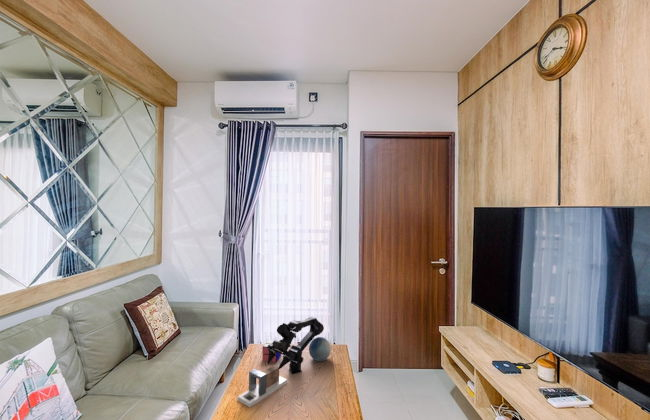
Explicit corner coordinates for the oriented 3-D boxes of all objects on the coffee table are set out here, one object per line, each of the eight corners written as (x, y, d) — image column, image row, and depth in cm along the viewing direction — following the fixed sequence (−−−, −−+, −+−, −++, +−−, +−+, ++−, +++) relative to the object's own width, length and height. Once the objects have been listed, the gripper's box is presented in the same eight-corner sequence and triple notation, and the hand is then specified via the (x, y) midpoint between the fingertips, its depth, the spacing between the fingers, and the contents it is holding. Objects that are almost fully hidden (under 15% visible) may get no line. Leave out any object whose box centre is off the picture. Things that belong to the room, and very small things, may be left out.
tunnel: (254, 386, 179) (254, 368, 179) (266, 392, 173) (266, 374, 173) (248, 390, 176) (249, 371, 175) (260, 396, 170) (260, 377, 170)
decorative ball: (317, 352, 224) (317, 331, 224) (335, 358, 216) (335, 337, 215) (304, 361, 212) (304, 339, 212) (322, 368, 203) (322, 345, 203)
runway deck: (275, 377, 192) (275, 373, 192) (287, 382, 186) (287, 379, 186) (237, 400, 170) (237, 396, 170) (249, 407, 164) (249, 403, 164)
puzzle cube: (276, 362, 209) (276, 348, 209) (262, 361, 212) (262, 346, 211) (281, 355, 219) (281, 341, 219) (267, 354, 221) (267, 340, 221)
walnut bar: (274, 378, 188) (274, 364, 187) (279, 380, 185) (279, 367, 185) (261, 386, 180) (261, 372, 179) (266, 388, 177) (266, 374, 177)
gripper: (269, 330, 193) (255, 355, 185) (291, 339, 182) (277, 365, 174) (278, 339, 200) (265, 363, 191) (300, 347, 189) (287, 373, 180)
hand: (273, 366), depth 184 cm, fingers open, 9 cm apart
